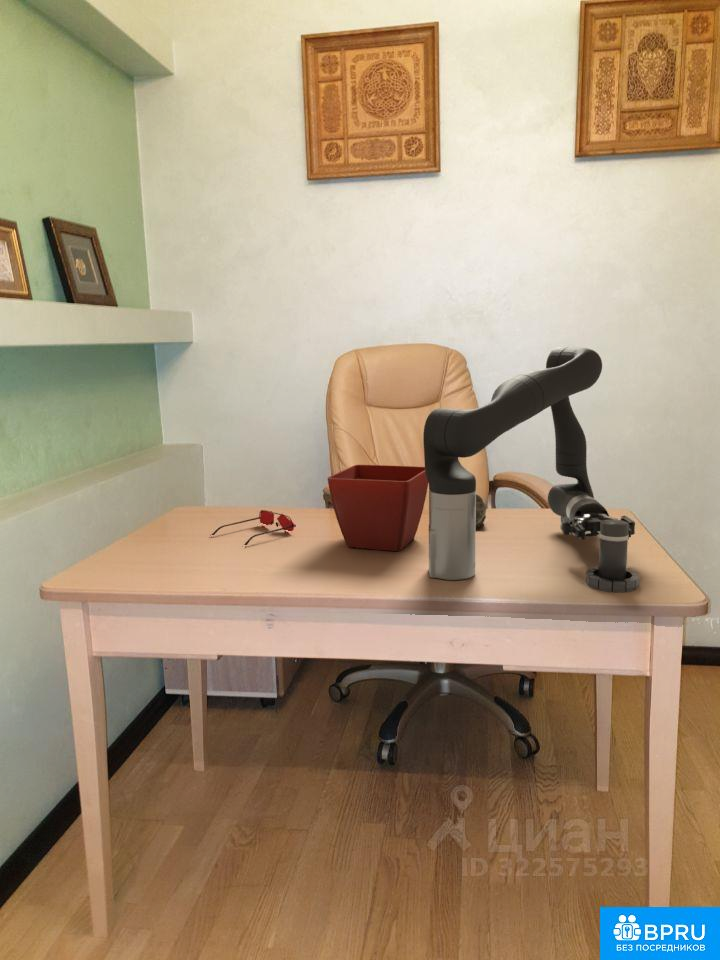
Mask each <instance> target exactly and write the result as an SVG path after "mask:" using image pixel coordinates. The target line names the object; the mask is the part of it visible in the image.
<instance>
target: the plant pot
mask: <svg viewBox="0 0 720 960" xmlns="http://www.w3.org/2000/svg"><path fill="white" fill-rule="evenodd" d="M327 483H328V489H329V494H330V499H331V502H332V507H333V510H334V514H335V518H336V520H337V523H338V526H339V528H340V531H341V532H340V533H341V534H342V537H343V539H344V542H345V544H346V546H347V547H348V548H353V547H355V549H356V548H358V549H365V548H366V549H368V550H369V549H370V550H381V551H390V552H391V551H394V552H398V551H401V550H402V549H403V548H404V547H406V546H407V545H408V544H409V543H410V542H411V541H412V540H414V539H415V537H416V534H417V532H418V528H419V525H420V521H421V518H422V514H423V512H424V511H423V510H424V506H425V502H426V499H427V493H428V489H429V482H428V479H427V477H426V473H425V466H414V465H413V466H412V465H411V466H410V465H390V464H389V465H381V464H379V465H378V464H355V465H352V466H349V467H347V468H344V469H343V470H341V471H339V472H337V473H334V474H332V475H330V476H327ZM366 549H365V550H366Z"/></svg>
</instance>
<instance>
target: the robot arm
mask: <svg viewBox="0 0 720 960" xmlns="http://www.w3.org/2000/svg"><path fill="white" fill-rule="evenodd" d="M602 371H603V362H602V358H601V356H600V355H599V354H598V352H597V351H595V350H593V349H590V348H587V347H574V346H573V347H572V346H571V347H569V346H558V347H555V348H553V349H552V350H551V351H550V353H549V354H548V357H547V359H546V364H545V368H540V369H536V370H531V371H525V372H523V373H520V374H517V375H515V376H513V377H512V378H509V379H508V380H506V381H504V382H502V383H501V384H500V385H498V386H497V388H496V389H494V392H493V394H492V397H491V401H489V402H488V403H487V404H483V405H482V406H480V407H476V408H474V409H461V408H460V409H459V408H448V407H445V408H444V407H442V408H436V409H433V410H432V411H431V412H430V413H429V414H428V416H427V417H426V420H425V422H424V426H423V434H422V436H423V441H422V442H423V455H424V456H423V457H424V467H425V473H426V477H427V479H428V482H429V483H428V503H429V504H428V511H429V512H428V517H429V518H428V522H429V523H428V571H429V573H428V574H429V578H435V579H436V578H437V579H440V580H441V579H442V580H447V581H448V580H449V581H459V580H466V579H470V578H473V577H474V576H475V575H476V533H477V531H476V529H477V528H476V494H477V479H476V477H475V475H474V473H472V472H470V471H469V470H467V469H466V468H465V467H464V466H463V465H462V464H461V462H460V460H459V458H462V459H463V458H469V457H470V458H471V457H473V456H474V455H476V454H478V453H480V452H482V451H483V450H484V449H485V448H486V447H488V446H489V445H490V444H491V443H492V442H494V441H495V440H496V439H497V438H498V437H500V436H503V434H505V433H506V432H508V431H510V430H511V429H513V428H515V427H517V426H519V425H521V423H524V422H526V421H527V420H530V419H531V418H533V417H535V416H536V415H538V414H540V413H541V412H543V411H544V410H546V409H548V408H549V407H550V409H551V416H552V421H553V426H554V437H555V438H554V439H555V471H556V473H557V474H558V475H559V476H562V477H567V478H573V479H576V480H577V481H576V482H577V483H565V484H561V483H560V484H555V485H554V486H552V487H551V488H550V489H549V491H548V494H547V503H548V507H549V508H550V510H551V511H552V513H554V514H555V515H557V516H559V517H560V525H559V526H560V531H561V532H562V534H563V535H565V536H568V535H569V536H570V534H572V535H573V536H574V537H576V538H578V539H579V540H580V541H581V540H583V541H584V540H585V539H586V537H590V538H592V537H597V536H599V534H600V523H601V521H603V520H619V518H618V517H613V516H610V515H609V513H608V511H607V509H606V508H605V506H604V505H603V504H601V502H599V501H598V500H597V499H595V496H594V491H593V489H592V486H591V483H590V480H589V476H588V468H587V439H586V435H585V432H584V430H583V428H582V425H581V423H580V422H579V420H578V418H577V415H576V414H575V412H574V409H573V407H572V405H571V401H570V396H572V395H575V394H578V393H580V392H583V391H585V390H586V391H587V390H588V389H590V388H591V387H593V386H594V385H595V384H596V383H597V381H598V380H599V378H600V376H601V374H602ZM620 520H621V521H625V522H628V524H629V525H628V534H629V536H628V540H629V539H630V538H632V536H633V535H635V534H636V531H635V529H636V528H635V527H636V521H634V520H632V519H631V518H630V517H628V516H626V515H620Z"/></svg>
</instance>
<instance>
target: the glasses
mask: <svg viewBox="0 0 720 960" xmlns="http://www.w3.org/2000/svg"><path fill="white" fill-rule="evenodd" d="M275 515H279V516H278V517H276V519H277V521H276V522H275ZM255 520H259V522H260V524H261V523H263V524H266V525H267V526H269V525H270V526H272V525H274V524H275V526H276V528H277V529H273V530H269V531H268V530H267V531H264V532H262V533H261V532H260V533H257V534H254V535H252V536H250V537H249V538H248V539H247V540H246V542H245V543H244V544H243V545H246V546H247V545H248V544H249V543H250V541H251V540H252V539H254V538H255V537H258V536H262V535H265V534H270V533H274V532H278V531H282V530H283V531H284V530H288V531H291V532H293V531H294V529H295V528H296V527H297V525H296V524H295V523H294V522H293V519H292V518H291V517H290V516H288V515H285V514H283V513H278V512H273V511H272V510H270V511H269V510H265V509H264V510H263V509H261V510H260V511H259V514H258V517H254V518H250V519H244V520H241V521H237V522H233V523H228V524H224V525H221V526H219V527H218V528H217V529H216V530H214V532H213V533H211V535H215V534H217V533H218V531H219V530H221V529H222V528H225V527H228V526H233V525H237V524H242V523H247V522H251V521H255ZM278 527H281V528H278Z"/></svg>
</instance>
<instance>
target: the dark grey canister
mask: <svg viewBox="0 0 720 960" xmlns="http://www.w3.org/2000/svg"><path fill="white" fill-rule="evenodd" d="M628 525H629V524H628V522H625V521H621V519H618V520H603V521H601V523H600V534H599V535H598V536H599V550H598V551H599V553H598V554H599V555H598V556H599V557H598V566H599V572H598V577H601V578H605V579H611V580H624V579H626V568H627V566H628V565H627V564H628V563H627V562H628V545H629V543H628V542H629V539H628V536H629V534H628Z"/></svg>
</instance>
